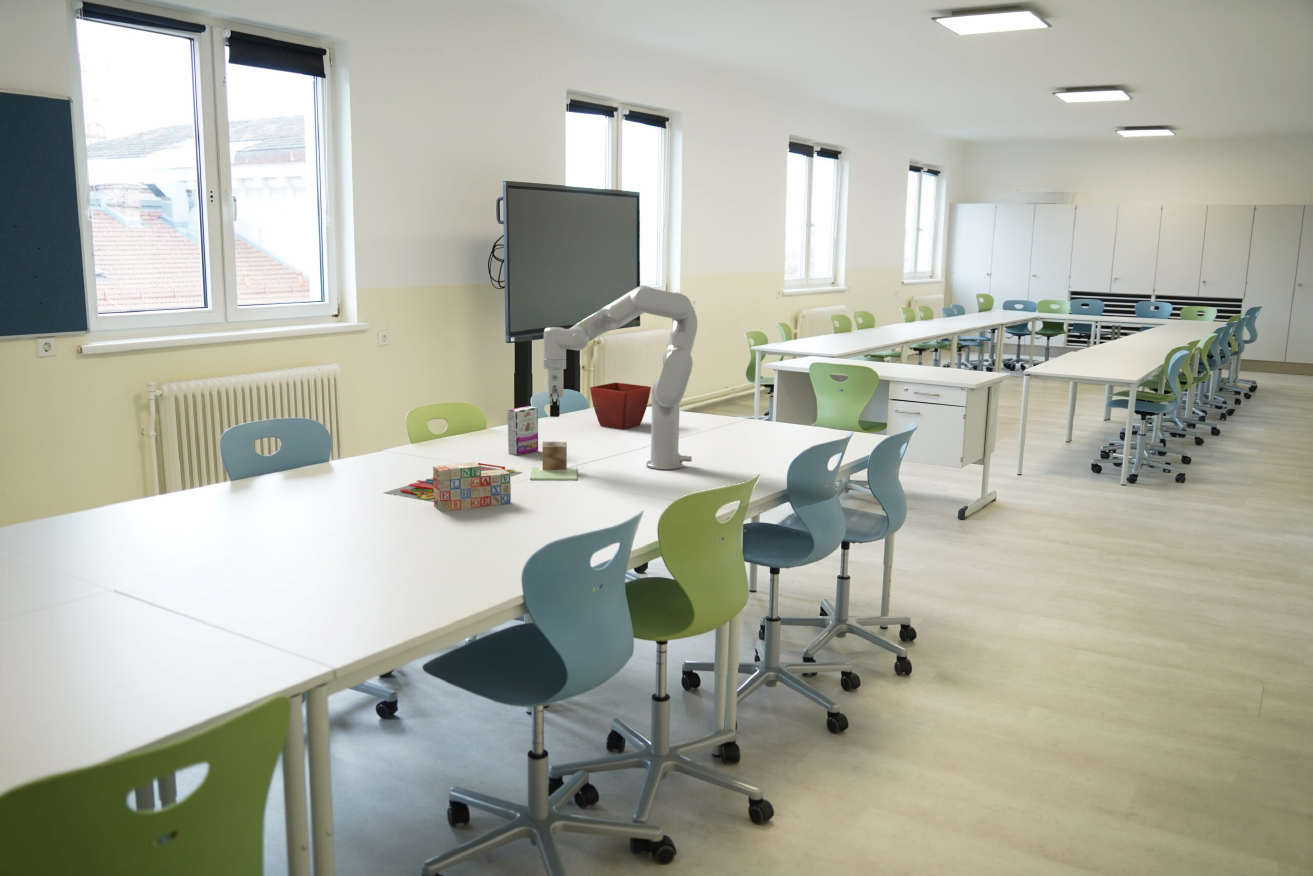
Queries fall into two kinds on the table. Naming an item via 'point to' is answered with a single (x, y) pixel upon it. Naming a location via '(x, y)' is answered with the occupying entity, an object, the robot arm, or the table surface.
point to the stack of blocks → (469, 486)
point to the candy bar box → (522, 430)
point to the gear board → (426, 489)
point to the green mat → (553, 474)
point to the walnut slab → (554, 455)
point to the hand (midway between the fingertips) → (554, 414)
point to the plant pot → (620, 404)
